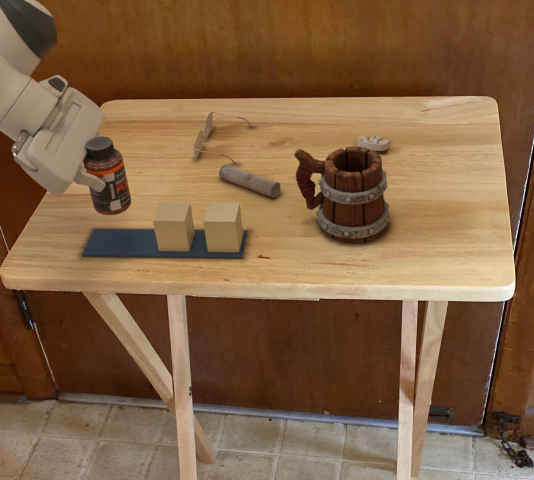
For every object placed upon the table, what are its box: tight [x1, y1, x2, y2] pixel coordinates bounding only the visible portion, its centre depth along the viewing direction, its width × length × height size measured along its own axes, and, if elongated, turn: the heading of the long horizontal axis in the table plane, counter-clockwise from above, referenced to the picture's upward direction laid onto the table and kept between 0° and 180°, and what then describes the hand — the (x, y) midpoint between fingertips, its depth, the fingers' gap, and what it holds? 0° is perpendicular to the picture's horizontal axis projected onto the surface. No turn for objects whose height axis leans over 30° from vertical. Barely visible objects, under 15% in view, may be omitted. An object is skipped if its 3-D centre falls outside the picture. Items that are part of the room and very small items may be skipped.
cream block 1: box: [152, 201, 196, 252], centre depth 129 cm, size 5×5×6 cm
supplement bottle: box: [82, 135, 132, 216], centre depth 124 cm, size 6×6×11 cm
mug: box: [293, 146, 390, 244], centre depth 128 cm, size 12×14×15 cm
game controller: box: [356, 134, 390, 152], centre depth 145 cm, size 6×12×3 cm, turn 173°
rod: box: [218, 163, 281, 199], centre depth 141 cm, size 12×3×3 cm, turn 52°
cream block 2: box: [202, 202, 244, 252], centre depth 128 cm, size 5×5×6 cm
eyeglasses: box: [192, 110, 253, 165], centre depth 152 cm, size 14×8×4 cm, turn 168°
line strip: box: [81, 228, 249, 260], centre depth 132 cm, size 26×7×1 cm, turn 83°
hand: (110, 173), depth 124 cm, fingers closed on supplement bottle, 6 cm apart
